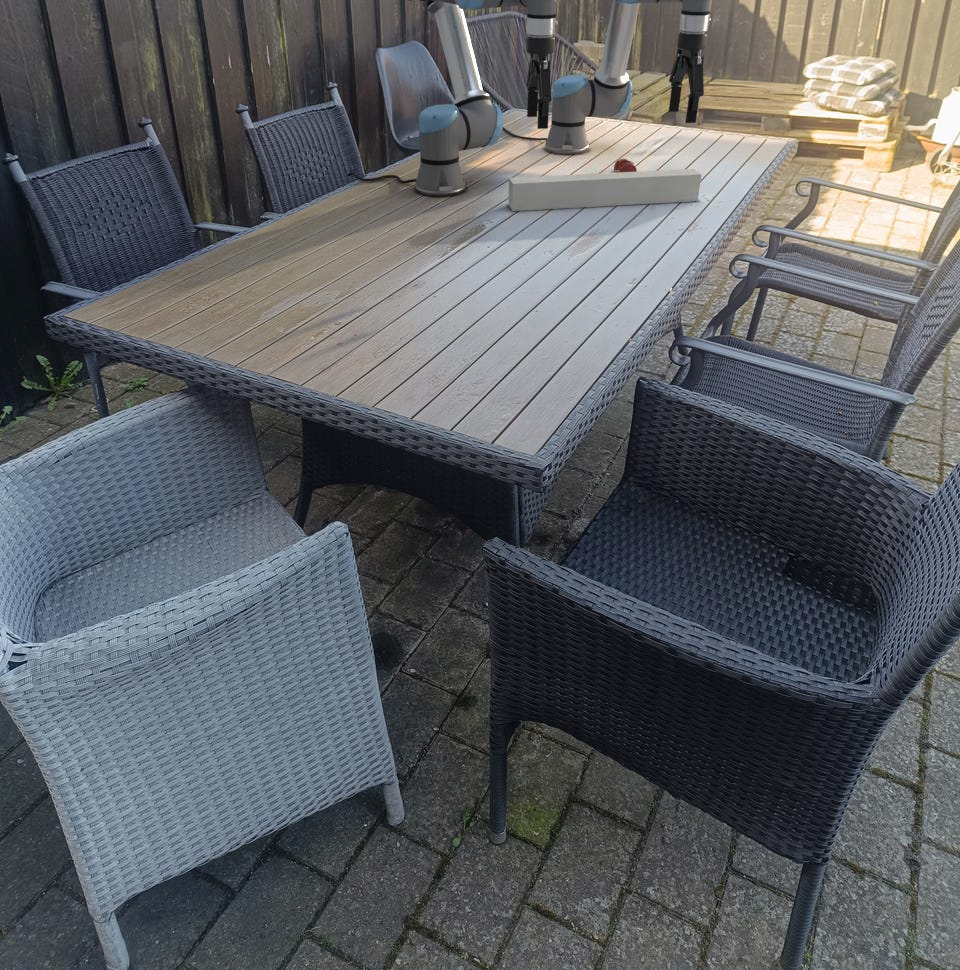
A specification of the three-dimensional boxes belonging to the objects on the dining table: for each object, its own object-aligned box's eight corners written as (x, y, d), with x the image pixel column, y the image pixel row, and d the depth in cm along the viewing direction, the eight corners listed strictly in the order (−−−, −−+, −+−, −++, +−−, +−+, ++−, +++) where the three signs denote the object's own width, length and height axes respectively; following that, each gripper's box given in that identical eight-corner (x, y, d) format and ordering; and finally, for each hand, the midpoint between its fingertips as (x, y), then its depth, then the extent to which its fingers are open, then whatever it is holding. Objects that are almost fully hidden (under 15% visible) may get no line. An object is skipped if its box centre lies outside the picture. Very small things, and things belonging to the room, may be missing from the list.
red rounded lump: (629, 155, 274) (638, 161, 268) (628, 168, 277) (637, 175, 271) (612, 157, 273) (622, 163, 267) (612, 170, 276) (621, 177, 270)
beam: (512, 211, 242) (512, 183, 237) (508, 204, 246) (508, 177, 242) (697, 201, 249) (701, 174, 245) (690, 195, 254) (694, 168, 249)
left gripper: (566, 43, 210) (561, 133, 222) (544, 28, 229) (540, 111, 242) (536, 43, 209) (533, 134, 221) (517, 29, 228) (515, 112, 241)
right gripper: (724, 39, 215) (711, 127, 228) (689, 25, 235) (679, 106, 247) (696, 39, 214) (684, 128, 227) (664, 25, 234) (654, 107, 246)
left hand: (537, 122), depth 232 cm, fingers open, 13 cm apart
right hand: (681, 117), depth 237 cm, fingers open, 13 cm apart
